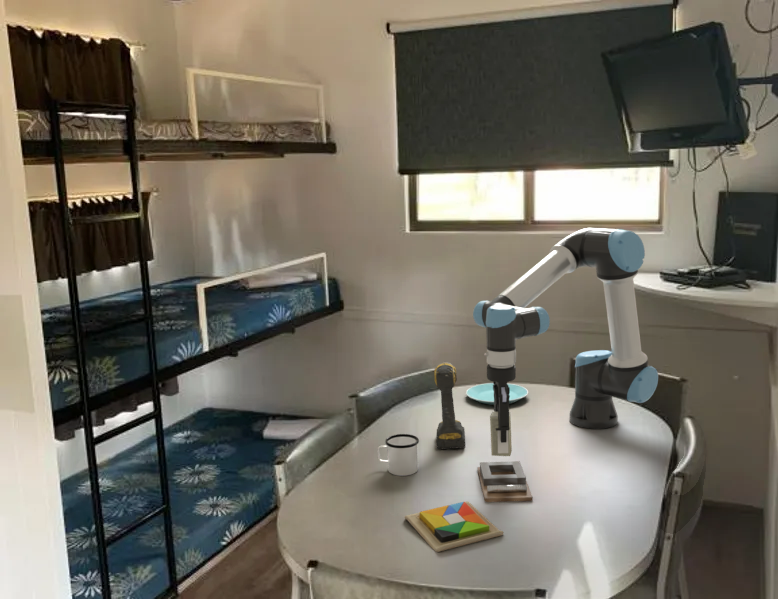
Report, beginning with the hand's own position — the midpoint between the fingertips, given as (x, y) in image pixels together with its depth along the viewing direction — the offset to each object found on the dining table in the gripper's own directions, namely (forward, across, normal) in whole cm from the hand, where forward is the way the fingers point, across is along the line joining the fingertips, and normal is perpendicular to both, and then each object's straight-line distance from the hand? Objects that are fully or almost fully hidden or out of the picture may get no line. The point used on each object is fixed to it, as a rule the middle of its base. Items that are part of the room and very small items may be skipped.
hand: (501, 448), depth 206 cm
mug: (+9, -9, -28) cm, 31 cm away
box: (+2, 0, 0) cm, 2 cm away
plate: (+9, -71, +7) cm, 72 cm away
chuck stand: (+9, +3, 0) cm, 10 cm away
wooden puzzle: (+10, +26, -15) cm, 31 cm away
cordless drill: (+9, -31, -12) cm, 35 cm away
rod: (+9, +9, 0) cm, 13 cm away
